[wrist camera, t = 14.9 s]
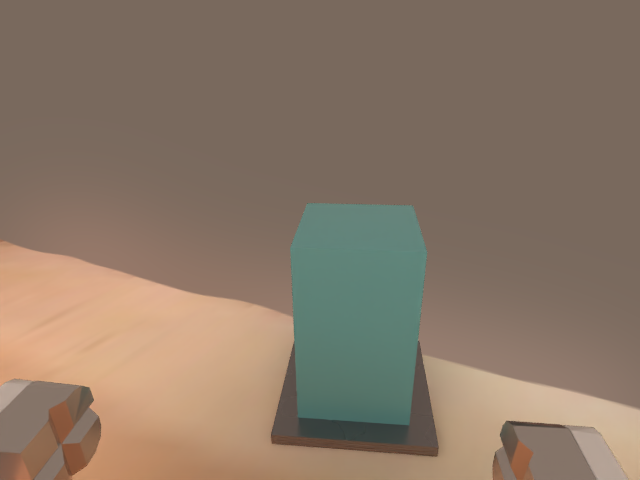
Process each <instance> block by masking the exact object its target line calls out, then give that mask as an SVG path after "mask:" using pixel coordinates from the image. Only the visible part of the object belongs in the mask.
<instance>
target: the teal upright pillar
mask: <svg viewBox="0 0 640 480" xmlns="http://www.w3.org/2000/svg"><path fill="white" fill-rule="evenodd" d="M290 251H291V273H292V296H293V318H294V341H295V363H296V385H297V408H298V417H299V418H313V419H327V420H341V421H355V422H369V423H384V424H398V425H409V422H410V412H411V403H412V393H413V384H414V374H415V364H416V355H417V345H418V335H419V325H420V316H421V307H422V297H423V287H424V277H425V267H426V258H427V251H426V247H425V243H424V240H423V237H422V233H421V230H420V227H419V224H418V220H417V217H416V214H415V210H414V207H413V206H410V205H408V206H407V205H366V204H319V203H307V205H306V208H305V211H304V213H303V216H302V219H301V221H300V224H299V226H298V229H297V232H296V234H295V237H294V239H293V242H292V245H291V248H290Z"/></svg>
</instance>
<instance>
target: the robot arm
mask: <svg viewBox="0 0 640 480" xmlns="http://www.w3.org/2000/svg"><path fill="white" fill-rule="evenodd" d="M93 401H94V399H93V396H92V393H91V391H90V388H89V387H85V386H79V385H70V384H62V383H53V382H44V381H31V380H22V379H13V380H10V381H8V382H5V383H4V384H3V385H2V386H0V480H72V476H73V475H74V474H75V473H77V472H78V471H80V470H81V469H83V468H84V467H86V466H87V465H88V463H89V462H90V460H91V458H92V457H93V455H94V454H95V452H96V449H97V446H98V443H99V440H100V437H101V423H100V420H99V416H98V415H97V414H96V413H95V412H93V411H92V410H91V409H90V408H89V407H90V405H91V404H92V402H93ZM500 437H501V440H502V443H503V447H502V448H500V449H499V450H497V451H496V452H495V456H494V461H493V480H629V479H628V478H627V476H626V474H625V473H624V471H623V470H622V468H621V466H620V465H619V463H618V461H617V460H616V458H615V457H614V455H613V453H612V452H611V450H610V448H609V447H608V445H607V444H606V442H605V440H604V439H603V437H602V435H601V434H600V432H598V431H597V430H596V429H595V428H594V427H582V426H569V425H563V426H562V425H558V424H544V423H530V422H517V421H506V422H505V423H504V425H503V426H502V430H501V433H500Z"/></svg>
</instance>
